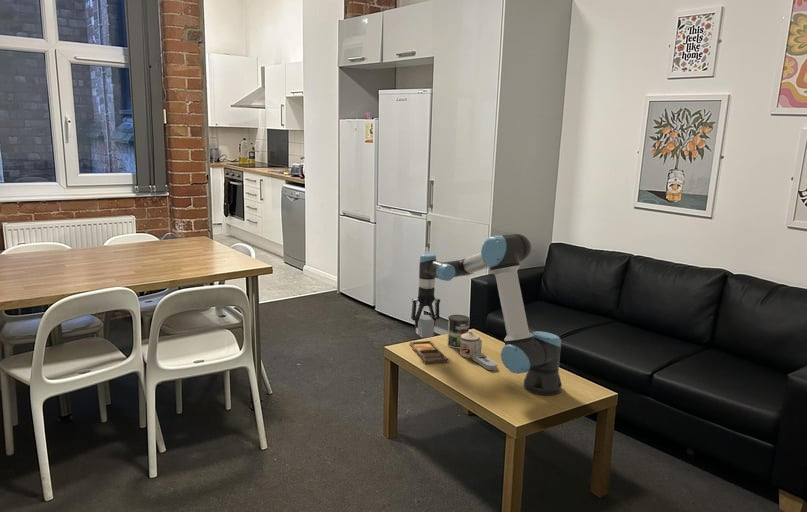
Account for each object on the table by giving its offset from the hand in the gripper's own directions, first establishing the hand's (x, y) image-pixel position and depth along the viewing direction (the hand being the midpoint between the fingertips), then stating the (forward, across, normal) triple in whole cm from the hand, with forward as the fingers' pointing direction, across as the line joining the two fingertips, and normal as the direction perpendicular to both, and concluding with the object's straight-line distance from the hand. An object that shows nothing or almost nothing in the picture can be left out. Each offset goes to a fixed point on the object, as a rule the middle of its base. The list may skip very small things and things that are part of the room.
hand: (424, 333), depth 269 cm
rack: (+8, 0, +6) cm, 10 cm away
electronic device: (+8, -21, +24) cm, 33 cm away
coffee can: (+8, -18, -2) cm, 20 cm away
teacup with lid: (+8, -19, +13) cm, 24 cm away
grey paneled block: (0, 0, 0) cm, 0 cm away
